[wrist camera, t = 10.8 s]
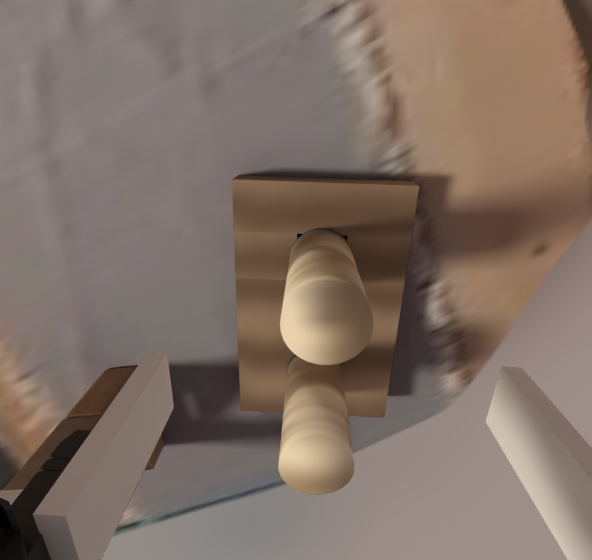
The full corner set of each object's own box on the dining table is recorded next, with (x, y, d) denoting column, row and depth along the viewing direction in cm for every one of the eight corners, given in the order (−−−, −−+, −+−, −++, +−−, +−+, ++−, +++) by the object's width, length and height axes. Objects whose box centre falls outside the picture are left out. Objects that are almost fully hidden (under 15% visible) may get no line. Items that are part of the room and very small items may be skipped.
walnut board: (239, 174, 31) (190, 206, 18) (409, 180, 30) (478, 217, 18) (245, 390, 39) (214, 514, 27) (378, 396, 39) (411, 524, 26)
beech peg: (290, 275, 33) (278, 363, 21) (291, 219, 31) (279, 280, 19) (347, 277, 33) (369, 367, 21) (351, 221, 31) (379, 283, 19)
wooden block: (137, 364, 38) (5, 546, 22) (166, 443, 42) (72, 647, 26) (104, 368, 39) (-52, 549, 22) (135, 445, 43) (23, 649, 26)
